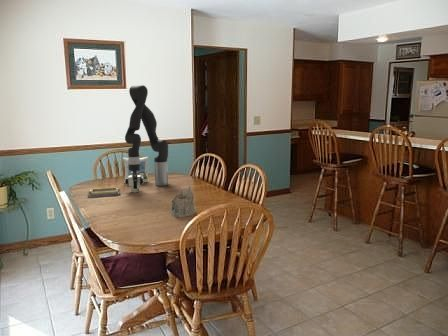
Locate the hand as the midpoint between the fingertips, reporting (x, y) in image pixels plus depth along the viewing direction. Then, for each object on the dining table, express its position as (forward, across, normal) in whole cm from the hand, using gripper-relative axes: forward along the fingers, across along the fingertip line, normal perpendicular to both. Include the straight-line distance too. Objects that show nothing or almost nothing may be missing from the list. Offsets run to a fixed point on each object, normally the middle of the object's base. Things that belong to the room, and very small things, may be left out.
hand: (135, 187), depth 259 cm
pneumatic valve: (+3, 0, 0) cm, 3 cm away
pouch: (+3, +29, -3) cm, 29 cm away
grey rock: (+3, -56, -21) cm, 60 cm away
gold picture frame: (+3, 0, +20) cm, 20 cm away
